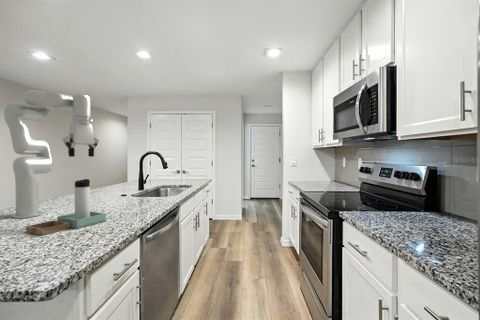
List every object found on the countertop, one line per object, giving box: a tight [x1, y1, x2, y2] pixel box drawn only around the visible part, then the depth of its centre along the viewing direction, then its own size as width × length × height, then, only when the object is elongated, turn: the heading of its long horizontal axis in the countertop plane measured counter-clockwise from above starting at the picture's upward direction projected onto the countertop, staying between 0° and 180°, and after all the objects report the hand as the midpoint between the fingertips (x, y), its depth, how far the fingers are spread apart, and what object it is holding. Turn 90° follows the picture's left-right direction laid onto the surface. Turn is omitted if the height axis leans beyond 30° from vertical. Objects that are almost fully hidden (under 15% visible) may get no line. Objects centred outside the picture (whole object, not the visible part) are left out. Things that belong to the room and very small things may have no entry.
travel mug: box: [74, 178, 91, 219], centre depth 126 cm, size 6×7×20 cm
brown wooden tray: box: [25, 219, 70, 236], centre depth 114 cm, size 11×11×2 cm
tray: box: [56, 210, 107, 230], centre depth 126 cm, size 14×14×4 cm
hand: (81, 156), depth 125 cm, fingers open, 9 cm apart
